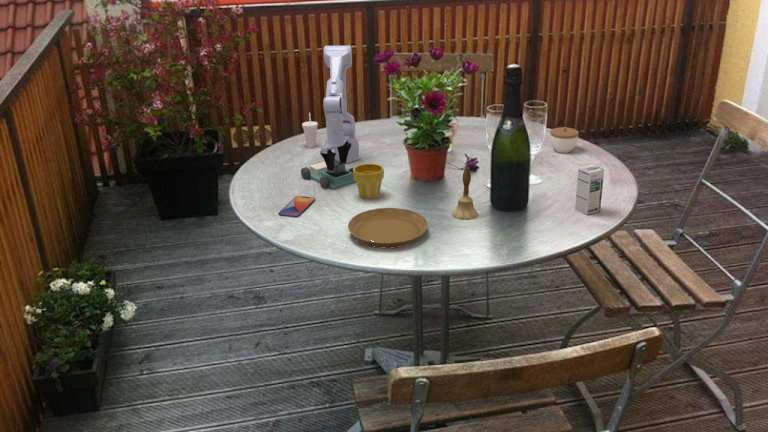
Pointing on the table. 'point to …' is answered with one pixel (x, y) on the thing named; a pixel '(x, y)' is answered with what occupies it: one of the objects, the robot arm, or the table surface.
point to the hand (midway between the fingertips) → (337, 166)
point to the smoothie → (310, 132)
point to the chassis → (327, 176)
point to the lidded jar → (563, 139)
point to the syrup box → (589, 189)
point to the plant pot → (368, 179)
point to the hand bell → (465, 200)
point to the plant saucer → (387, 227)
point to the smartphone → (297, 206)
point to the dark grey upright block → (337, 169)
